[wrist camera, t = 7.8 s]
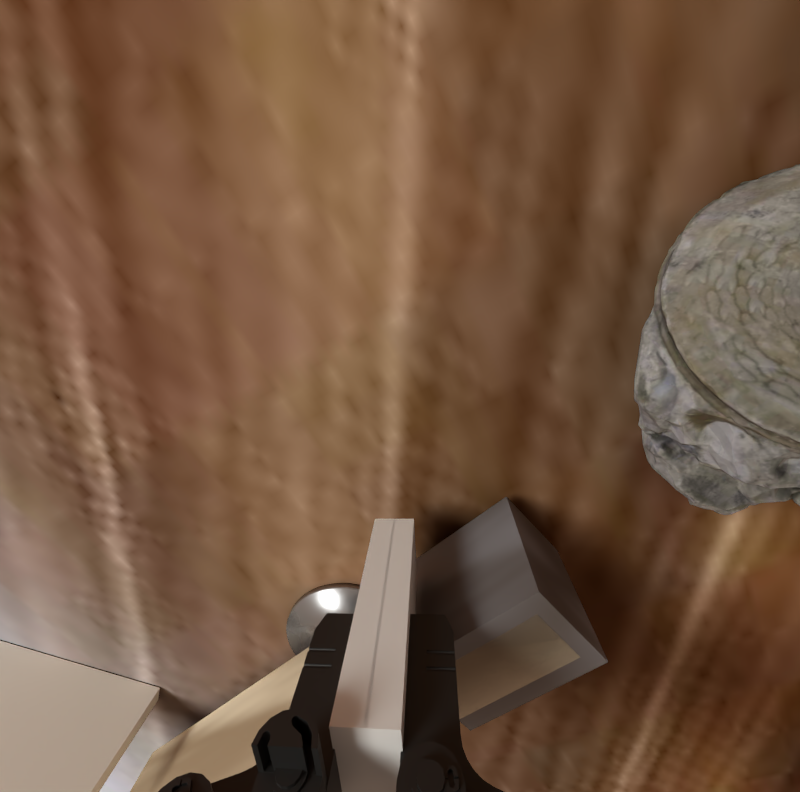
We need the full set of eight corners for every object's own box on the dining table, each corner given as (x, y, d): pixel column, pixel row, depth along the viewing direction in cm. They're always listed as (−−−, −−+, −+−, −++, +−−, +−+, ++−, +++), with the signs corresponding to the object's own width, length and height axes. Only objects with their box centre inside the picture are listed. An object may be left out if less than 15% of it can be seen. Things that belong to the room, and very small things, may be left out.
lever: (556, 549, 15) (620, 688, 10) (188, 776, 21) (116, 925, 17) (506, 496, 14) (546, 614, 9) (144, 746, 21) (56, 891, 16)
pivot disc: (395, 575, 16) (394, 581, 16) (423, 672, 18) (423, 678, 18) (271, 591, 17) (269, 596, 17) (310, 682, 19) (308, 688, 19)
